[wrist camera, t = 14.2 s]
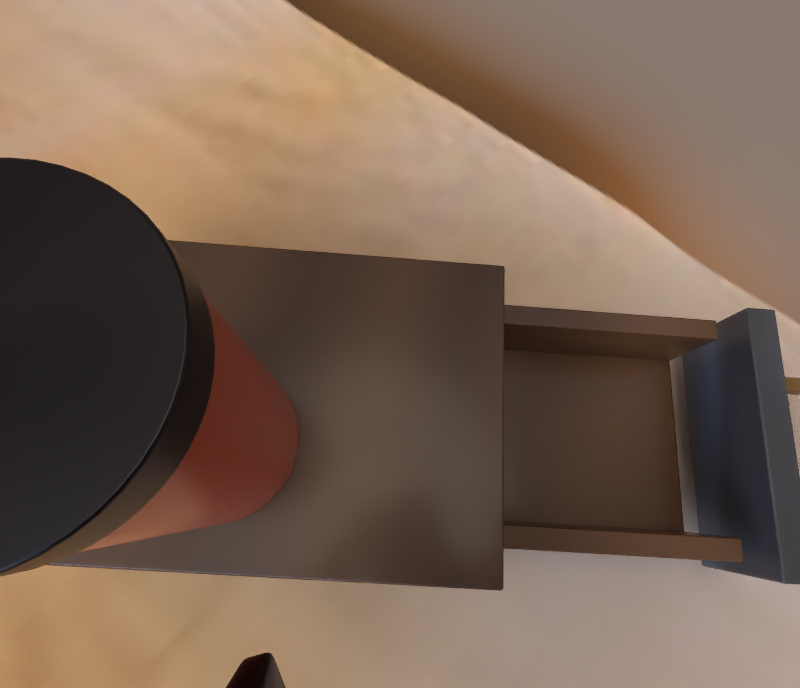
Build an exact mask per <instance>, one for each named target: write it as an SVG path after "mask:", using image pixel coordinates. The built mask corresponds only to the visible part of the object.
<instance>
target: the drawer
mask: <svg viewBox="0 0 800 688" xmlns="http://www.w3.org/2000/svg"><path fill="white" fill-rule="evenodd" d="M681 355H682V358H683V369H684V379H685V390H686V400H687V411H688V421H689V432H690V442H691V453H692V463H693V474H694V484H695V495H696V505H697V516H698V527H699V533H692V532H684V525H683V514H682V502H681V491H680V480H679V468H678V457H677V445H676V434H675V422H674V411H673V399H672V388H671V377H670V365H669V361H670V360H672V359H675V358H677V357H679V356H681ZM787 394H794V395H800V378H788V377H785V376H784V370H783V363H782V356H781V350H780V343H779V336H778V330H777V323H776V316H775V311H774V310H766V309H753V308H746V309H744V310H742V311H740V312H738V313H736V314H734V315H732V316H730V317H728V318H726V319H724V320H722V321H720V322H718V323H716V321H712V320H699V319H686V318H672V317H659V316H645V315H632V314H619V313H605V312H592V311H579V310H565V309H552V308H538V307H525V306H512V305H504V546H503V548H507V549H524V550H541V551H558V552H575V553H592V554H609V555H626V556H643V557H660V558H677V559H694V560H702V565H703V566H706V567H710V568H715V569H720V570H724V571H729V572H733V573H738V574H743V575H747V576H752V577H756V578H761V579H766V580H770V581H775V582H780V583H784V584H800V477H799V470H798V463H797V457H796V450H795V443H794V437H793V430H792V423H791V416H790V410H789V403H788V396H787Z"/></svg>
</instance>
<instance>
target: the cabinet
mask: <svg viewBox="0 0 800 688" xmlns="http://www.w3.org/2000/svg"><path fill="white" fill-rule="evenodd" d="M168 242H169V243H170V244H171V245H172V247H173V248H174V249H175V250H176V252H177V253H178V254H179V255H180V256H181V258H182V259H183V260H184V261H185V263H186V264H187V265H188V267H189V268H190V270H191V272H192V273H193V275H194V277H195V278H196V280H197V282H198V283H199V285H200V288H201V290H202V293H203V294H204V295H205V296H206V298H207V299H208V300H209V301H210V302H211V303H212V305H213V306H214V307H215V308H216V309H217V311H218V312H219V313H220V314H221V315H222V317H223V318H224V319H225V320H226V321H227V323H228V324H229V325H230V326H231V327H232V328H233V330H234V331H235V332H236V333H237V334H238V336H239V337H240V338H241V339H242V340H243V342H244V343H245V344H246V345H247V346H248V348H249V349H250V350H251V351H252V352H253V353H254V355H255V356H256V357H257V358H258V359H259V361H260V362H261V363H262V364H263V365H264V367H265V368H266V369H267V370H268V371H269V373H270V374H271V375H272V376H273V377H274V378H275V380H276V381H277V382H278V383H279V384H280V386H281V387H282V388H283V389H284V391H285V392H286V393H287V395H288V397H289V398H290V400H291V402H292V404H293V406H294V409H295V412H296V415H297V419H298V425H299V446H298V453H297V456H296V460H295V463H294V466H293V468H292V471H291V473H290V475H289V477H288V478H287V480H286V482H285V483H284V485H283V486H282V488H281V489H280V490H279V492H278V493H277V494H276V495H275V496H274V497H273V498H272V499H271V500H270V501H269V502H268V503H266V504H265V505H264V506H263V507H261V508H260V509H258V510H257V511H255V512H254V513H252V514H250V515H248V516H246V517H244V518H241V519H238V520H235V521H232V522H228V523H223V524H218V525H213V526H208V527H203V528H198V529H193V530H187V531H182V532H177V533H172V534H167V535H162V536H157V537H152V538H147V539H142V540H137V541H132V542H127V543H122V544H117V545H112V546H107V547H102V548H97V549H92V550H87V551H82V552H77V553H75V554H73V555H71V556H68V557H66V558H64V559H62V560H59V561H56V562H53V563H50V564H47V565H54V566H72V567H90V568H108V569H126V570H144V571H161V572H179V573H197V574H215V575H233V576H251V577H269V578H286V579H304V580H322V581H340V582H358V583H376V584H394V585H411V586H429V587H447V588H465V589H483V590H503V546H504V274H505V268H504V266H495V265H482V264H469V263H456V262H443V261H430V260H418V259H405V258H392V257H379V256H366V255H353V254H340V253H327V252H314V251H301V250H288V249H275V248H262V247H249V246H236V245H223V244H211V243H198V242H185V241H172V240H168Z"/></svg>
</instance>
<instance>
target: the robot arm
mask: <svg viewBox="0 0 800 688" xmlns="http://www.w3.org/2000/svg"><path fill="white" fill-rule="evenodd" d="M226 688H286V687H285V685H284V682H283V680H282V677H281V674H280V672H279V669H278V667H277V664H276V662H275V659H274V657H273V656H272V654H270V653H263V654H260V655H256V656H252V657H249V658H246V659H245V660H244V661H243V662H242V663H241V664H240V666H239V668H238V669H237V671H236V672H235V674H234V676H233V677H232V679H231V680H230V682H229V684H228V685H227V687H226Z"/></svg>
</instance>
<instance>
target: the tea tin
mask: <svg viewBox="0 0 800 688" xmlns="http://www.w3.org/2000/svg"><path fill="white" fill-rule="evenodd" d="M298 446H299V425H298V419H297V415H296V412H295V409H294V406H293V404H292V402H291V400H290V398H289V397H288V395H287V393H286V392H285V391H284V389H283V388H282V387H281V386H280V384H279V383H278V382H277V381H276V380H275V378H274V377H273V376H272V375H271V374H270V373H269V371H268V370H267V369H266V368H265V367H264V365H263V364H262V363H261V362H260V361H259V359H258V358H257V357H256V356H255V355H254V353H253V352H252V351H251V350H250V349H249V348H248V346H247V345H246V344H245V343H244V342H243V340H242V339H241V338H240V337H239V336H238V334H237V333H236V332H235V331H234V330H233V328H232V327H231V326H230V325H229V324H228V323H227V321H226V320H225V319H224V318H223V317H222V315H221V314H220V313H219V312H218V311H217V309H216V308H215V307H214V306H213V305H212V303H211V302H210V301H209V300H208V299H207V298H206V296H205V295H204V294H203V293H202V290H201V288H200V285H199V283H198V282H197V280H196V278H195V277H194V275H193V273H192V272H191V270H190V268H189V267H188V265H187V264H186V263H185V261H184V260H183V259H182V258H181V256H180V255H179V254H178V253H177V252H176V250H175V249H174V248H173V247H172V245H171V244H170V243H169V242H168V240H167V239H166V238H165V237H164V235H163V234H162V233H161V232H160V230H159V229H158V228H157V227H156V226H155V224H154V223H153V222H152V221H151V219H150V218H149V217H148V216H147V215H146V214H145V213H144V212H143V211H142V210H141V209H140V208H139V207H138V206H136V205H135V204H134V203H133V202H132V201H131V200H130V199H129V198H127V197H126V196H124V195H123V194H121V193H120V192H118V191H117V190H115V189H114V188H112V187H111V186H109V185H108V184H106V183H103V182H101V181H99V180H97V179H95V178H93V177H91V176H89V175H87V174H85V173H82V172H79V171H76V170H73V169H70V168H67V167H64V166H61V165H57V164H52V163H47V162H43V161H38V160H30V159H19V158H0V576H4V575H9V574H13V573H18V572H22V571H27V570H31V569H35V568H38V567H41V566H44V565H47V564H50V563H53V562H56V561H59V560H62V559H64V558H66V557H68V556H71V555H73V554H75V553H77V552H82V551H87V550H92V549H97V548H102V547H107V546H112V545H117V544H122V543H127V542H132V541H137V540H142V539H147V538H152V537H157V536H162V535H167V534H172V533H177V532H182V531H187V530H193V529H198V528H203V527H208V526H213V525H218V524H223V523H228V522H232V521H235V520H238V519H241V518H244V517H246V516H248V515H250V514H252V513H254V512H255V511H257V510H258V509H260V508H261V507H263V506H264V505H265V504H266V503H268V502H269V501H270V500H271V499H272V498H273V497H274V496H275V495H276V494H277V493H278V492H279V490H280V489H281V488H282V486H283V485H284V483H285V482H286V480H287V478H288V477H289V475H290V473H291V471H292V468H293V466H294V463H295V460H296V456H297V453H298Z"/></svg>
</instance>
